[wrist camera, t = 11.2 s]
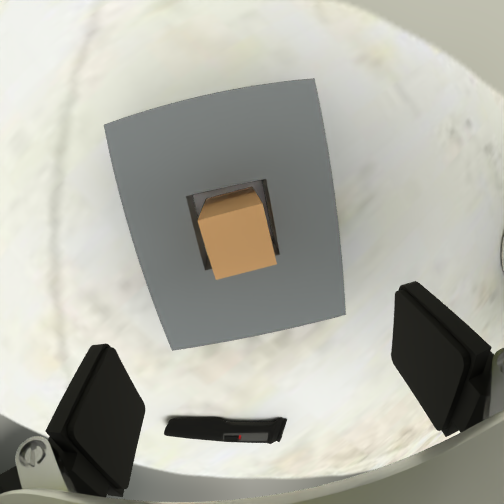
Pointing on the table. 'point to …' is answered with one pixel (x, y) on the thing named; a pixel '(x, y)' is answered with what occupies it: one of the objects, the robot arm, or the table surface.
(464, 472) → the robot arm
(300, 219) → the socket board
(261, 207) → the peg
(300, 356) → the table surface
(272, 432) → the electric trimmer
